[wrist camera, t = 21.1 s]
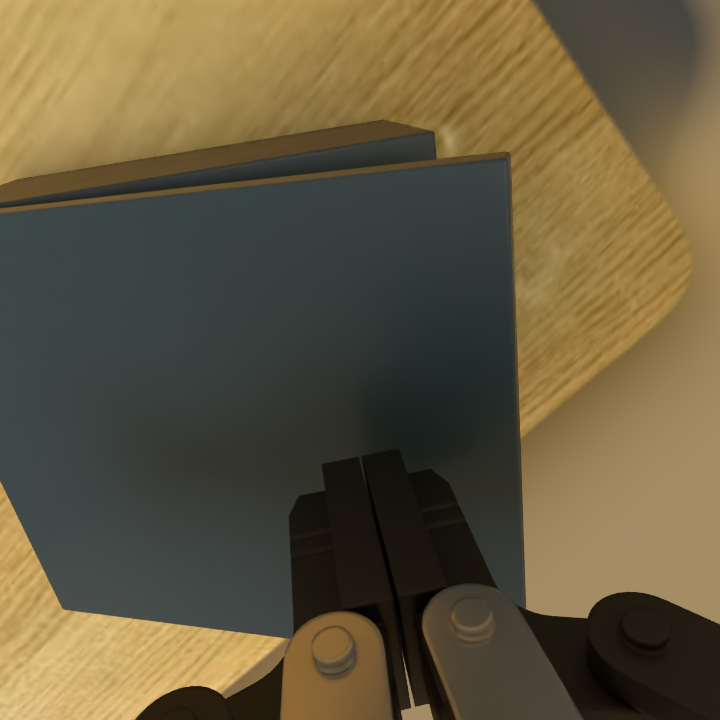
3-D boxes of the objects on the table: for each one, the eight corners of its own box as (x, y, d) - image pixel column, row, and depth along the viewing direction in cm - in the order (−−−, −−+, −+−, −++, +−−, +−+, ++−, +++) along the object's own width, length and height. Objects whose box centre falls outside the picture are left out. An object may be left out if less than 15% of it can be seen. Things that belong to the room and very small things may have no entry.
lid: (510, 150, 10) (508, 158, 9) (527, 641, 15) (526, 670, 14) (-92, 218, 14) (-126, 227, 13) (79, 589, 19) (62, 610, 18)
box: (385, 119, 21) (434, 130, 15) (418, 407, 26) (466, 506, 20) (15, 179, 20) (-97, 218, 14) (122, 465, 25) (75, 589, 19)
